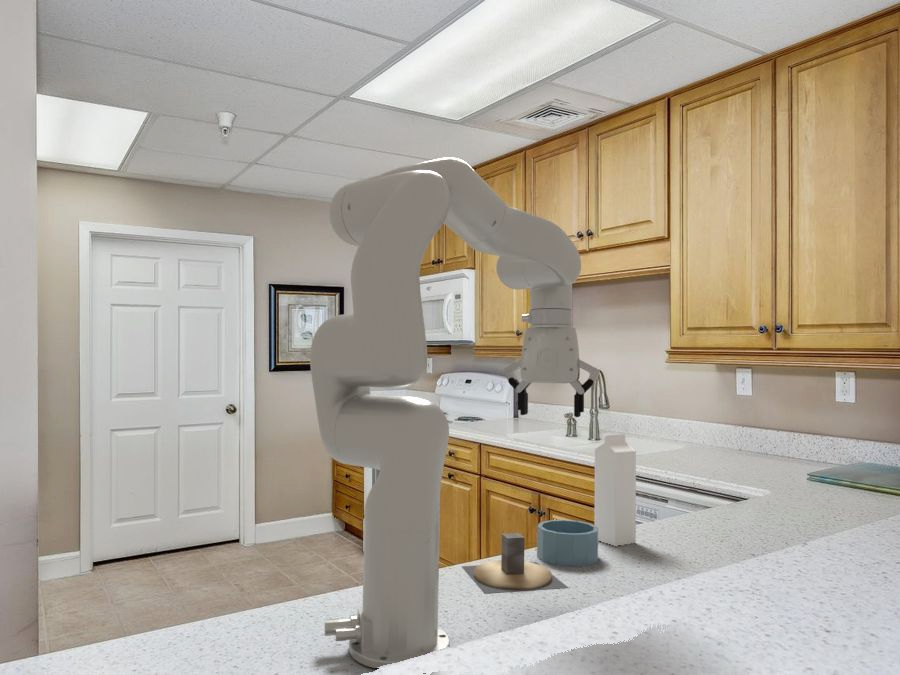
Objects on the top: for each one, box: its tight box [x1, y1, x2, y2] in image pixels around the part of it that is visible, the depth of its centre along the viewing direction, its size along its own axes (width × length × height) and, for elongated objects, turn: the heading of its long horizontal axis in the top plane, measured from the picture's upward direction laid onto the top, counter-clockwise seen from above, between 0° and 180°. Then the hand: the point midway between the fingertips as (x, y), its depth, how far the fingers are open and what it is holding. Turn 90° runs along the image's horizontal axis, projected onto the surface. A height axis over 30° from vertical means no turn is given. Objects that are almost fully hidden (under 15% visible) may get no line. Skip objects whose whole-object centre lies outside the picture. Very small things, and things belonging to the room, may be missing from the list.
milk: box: [593, 433, 637, 547], centre depth 135 cm, size 6×6×22 cm
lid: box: [474, 532, 553, 590], centre depth 110 cm, size 13×13×7 cm
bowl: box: [536, 519, 599, 567], centre depth 122 cm, size 11×11×6 cm
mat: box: [461, 561, 569, 595], centre depth 110 cm, size 14×14×1 cm
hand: (550, 415), depth 117 cm, fingers open, 9 cm apart
